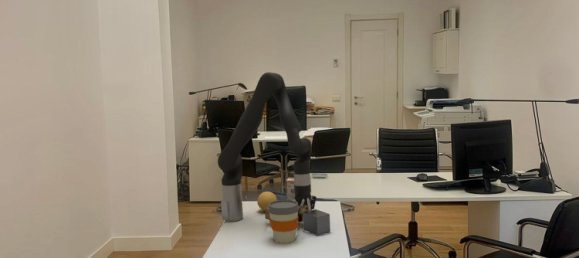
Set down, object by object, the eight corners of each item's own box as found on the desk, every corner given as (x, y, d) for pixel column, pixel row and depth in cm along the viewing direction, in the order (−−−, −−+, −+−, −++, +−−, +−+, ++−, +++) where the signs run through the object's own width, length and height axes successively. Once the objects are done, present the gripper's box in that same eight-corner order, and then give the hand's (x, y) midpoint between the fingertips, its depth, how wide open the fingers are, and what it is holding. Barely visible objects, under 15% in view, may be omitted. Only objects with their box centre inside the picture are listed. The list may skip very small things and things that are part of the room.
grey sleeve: (317, 235, 196) (316, 217, 195) (303, 230, 204) (303, 212, 203) (330, 232, 200) (329, 213, 199) (316, 226, 208) (315, 209, 207)
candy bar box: (286, 213, 229) (285, 180, 227) (287, 210, 234) (286, 178, 232) (309, 213, 228) (308, 180, 226) (310, 210, 233) (309, 177, 231)
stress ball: (277, 214, 230) (283, 198, 237) (267, 203, 225) (273, 186, 231) (261, 215, 236) (267, 199, 242) (251, 204, 230) (257, 188, 236)
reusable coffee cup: (265, 243, 190) (263, 207, 188) (276, 232, 202) (274, 199, 200) (294, 245, 186) (292, 209, 184) (303, 235, 197) (302, 200, 196)
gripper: (309, 179, 214) (311, 215, 216) (284, 184, 206) (285, 222, 208) (320, 181, 208) (321, 219, 210) (294, 187, 200) (295, 226, 202)
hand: (303, 220), depth 209 cm, fingers closed on brass bar, 4 cm apart
